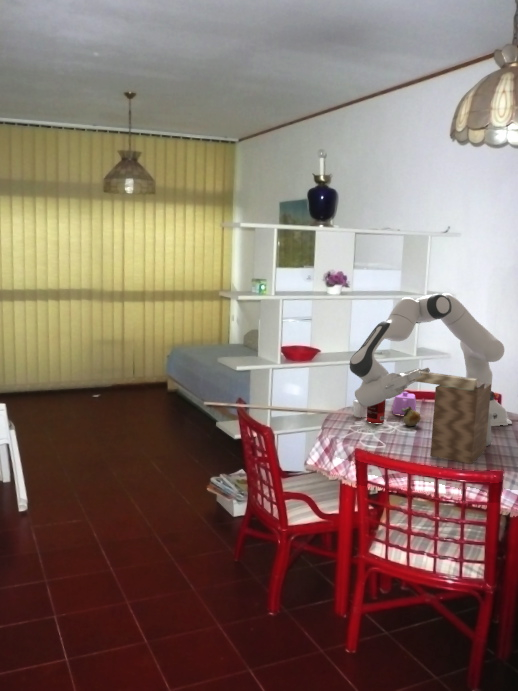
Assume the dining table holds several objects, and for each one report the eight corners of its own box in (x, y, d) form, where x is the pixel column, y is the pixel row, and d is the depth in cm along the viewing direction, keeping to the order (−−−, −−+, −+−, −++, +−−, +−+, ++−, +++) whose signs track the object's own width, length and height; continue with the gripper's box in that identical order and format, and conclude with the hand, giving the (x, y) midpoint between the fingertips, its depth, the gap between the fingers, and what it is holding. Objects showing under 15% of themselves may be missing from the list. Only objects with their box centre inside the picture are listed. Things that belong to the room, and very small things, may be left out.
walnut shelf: (430, 455, 250) (436, 381, 245) (446, 442, 266) (452, 373, 262) (471, 464, 242) (477, 387, 237) (485, 450, 258) (491, 378, 254)
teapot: (392, 407, 319) (394, 386, 318) (415, 409, 317) (417, 388, 315) (391, 417, 302) (392, 395, 300) (415, 419, 300) (417, 397, 298)
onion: (404, 428, 285) (406, 409, 284) (399, 422, 293) (401, 405, 292) (422, 428, 286) (423, 410, 284) (416, 423, 294) (418, 405, 292)
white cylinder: (363, 418, 298) (364, 403, 297) (349, 416, 302) (350, 400, 300) (370, 415, 304) (370, 400, 303) (356, 413, 307) (356, 398, 306)
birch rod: (414, 381, 253) (415, 372, 252) (417, 379, 256) (418, 370, 255) (473, 390, 241) (474, 380, 241) (476, 388, 244) (477, 378, 244)
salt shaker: (473, 442, 268) (476, 410, 266) (487, 442, 269) (490, 410, 267) (479, 446, 263) (482, 414, 261) (494, 446, 263) (496, 414, 261)
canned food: (383, 419, 297) (384, 395, 295) (384, 424, 289) (386, 399, 287) (365, 418, 298) (367, 394, 296) (366, 423, 290) (368, 399, 288)
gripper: (379, 381, 251) (411, 367, 244) (399, 373, 268) (429, 360, 261) (386, 397, 250) (419, 383, 243) (405, 387, 267) (436, 375, 260)
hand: (424, 371), depth 252 cm, fingers open, 8 cm apart
